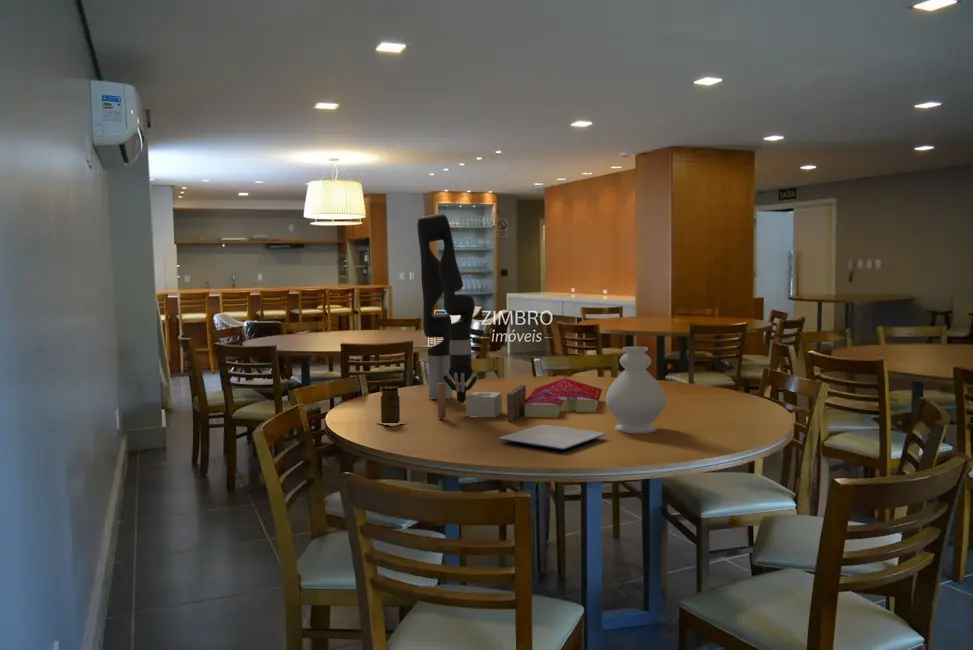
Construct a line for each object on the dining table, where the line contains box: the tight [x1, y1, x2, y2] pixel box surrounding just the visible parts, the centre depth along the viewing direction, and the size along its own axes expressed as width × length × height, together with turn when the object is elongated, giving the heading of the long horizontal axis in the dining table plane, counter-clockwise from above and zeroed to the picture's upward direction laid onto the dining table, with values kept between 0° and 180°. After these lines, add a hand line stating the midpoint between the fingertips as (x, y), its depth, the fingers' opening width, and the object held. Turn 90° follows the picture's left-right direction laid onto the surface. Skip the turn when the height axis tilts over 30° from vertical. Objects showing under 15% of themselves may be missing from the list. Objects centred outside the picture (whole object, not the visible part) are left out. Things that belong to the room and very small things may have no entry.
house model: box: [521, 377, 603, 418], centre depth 261 cm, size 38×25×10 cm
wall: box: [506, 384, 527, 423], centre depth 248 cm, size 20×2×9 cm, turn 165°
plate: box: [498, 424, 607, 451], centre depth 209 cm, size 22×22×2 cm
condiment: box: [380, 385, 401, 423], centre depth 239 cm, size 7×8×12 cm
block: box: [465, 391, 503, 419], centre depth 251 cm, size 10×10×7 cm
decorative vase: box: [605, 346, 667, 434], centre depth 223 cm, size 18×18×25 cm
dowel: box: [437, 383, 447, 419], centre depth 245 cm, size 3×3×12 cm
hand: (461, 402), depth 253 cm, fingers closed
